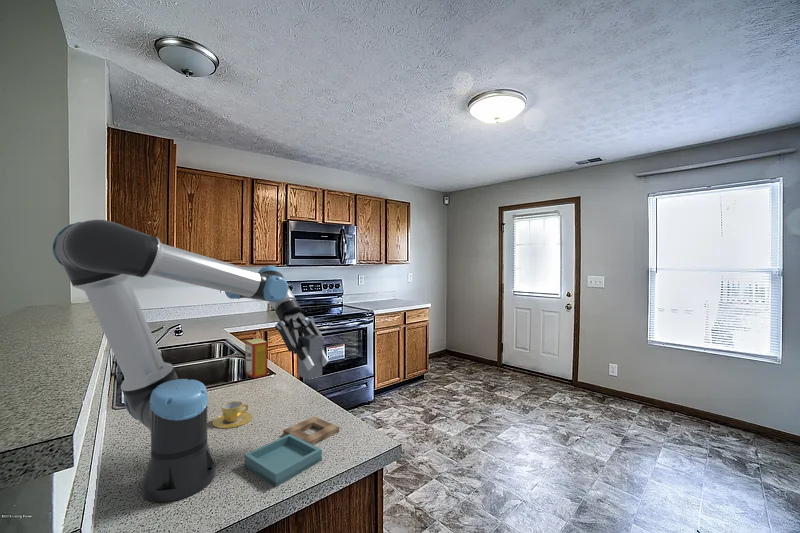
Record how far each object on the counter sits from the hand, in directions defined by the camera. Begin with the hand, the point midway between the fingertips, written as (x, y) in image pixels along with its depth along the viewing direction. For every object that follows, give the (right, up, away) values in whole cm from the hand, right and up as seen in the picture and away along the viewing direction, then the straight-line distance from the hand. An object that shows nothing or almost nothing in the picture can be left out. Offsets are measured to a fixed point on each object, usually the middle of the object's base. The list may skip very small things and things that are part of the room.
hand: (318, 365), depth 107 cm
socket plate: (-3, -22, +4) cm, 23 cm away
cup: (-32, -22, +12) cm, 40 cm away
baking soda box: (-42, -21, +58) cm, 75 cm away
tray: (-7, -22, -12) cm, 26 cm away
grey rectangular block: (-3, -4, +2) cm, 5 cm away
